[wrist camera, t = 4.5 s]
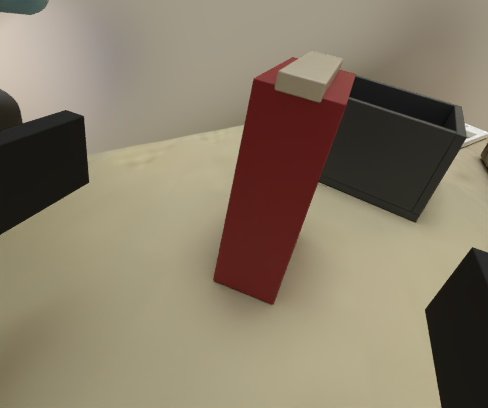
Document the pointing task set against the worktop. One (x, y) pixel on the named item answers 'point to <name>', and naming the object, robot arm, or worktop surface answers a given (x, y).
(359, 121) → the bin
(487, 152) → the dark brown wooden block
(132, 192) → the worktop surface
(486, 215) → the worktop surface
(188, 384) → the worktop surface
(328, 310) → the worktop surface
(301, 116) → the block
